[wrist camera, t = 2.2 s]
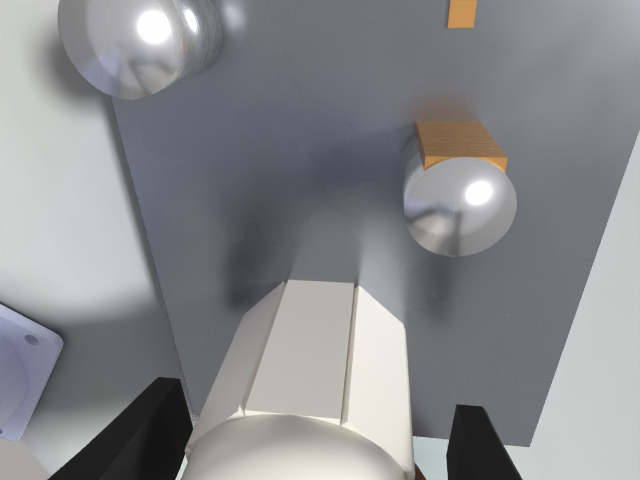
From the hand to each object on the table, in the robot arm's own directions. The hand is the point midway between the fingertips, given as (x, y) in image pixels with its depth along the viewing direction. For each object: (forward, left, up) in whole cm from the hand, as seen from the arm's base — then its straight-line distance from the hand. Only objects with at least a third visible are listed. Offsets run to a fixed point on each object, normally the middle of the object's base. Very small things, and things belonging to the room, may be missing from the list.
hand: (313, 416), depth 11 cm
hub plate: (-2, +4, -4) cm, 5 cm away
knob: (0, 0, -3) cm, 3 cm away
